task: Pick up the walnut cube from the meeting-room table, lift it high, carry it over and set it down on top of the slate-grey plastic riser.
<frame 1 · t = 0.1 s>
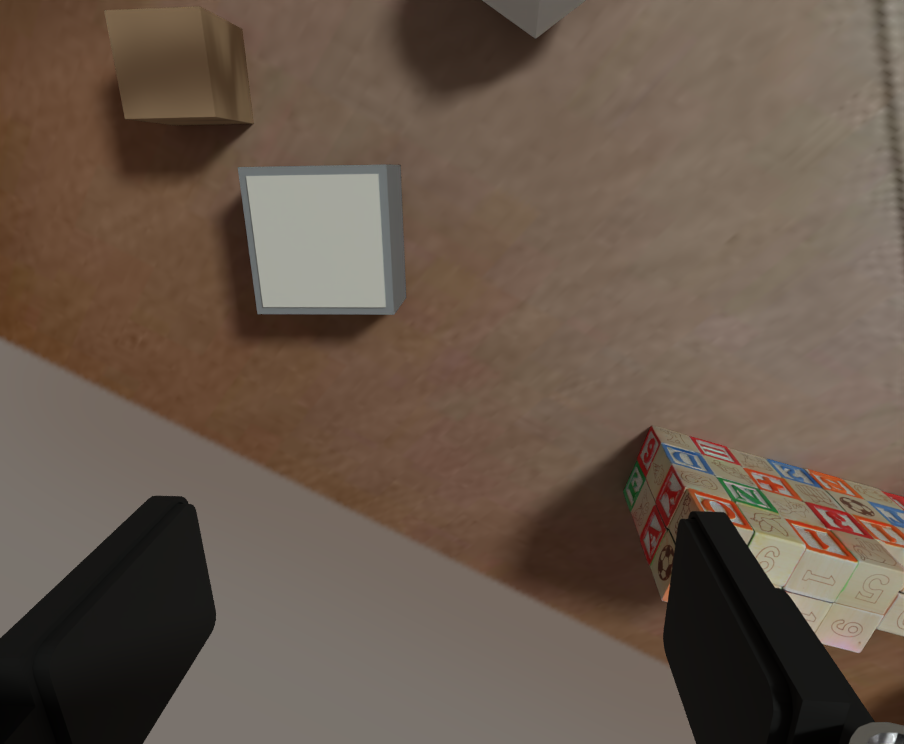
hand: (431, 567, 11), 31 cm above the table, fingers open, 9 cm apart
stack of blocks: (764, 493, 45), on the table
walnut cube: (207, 78, 37), on the table
riser: (339, 234, 40), on the table
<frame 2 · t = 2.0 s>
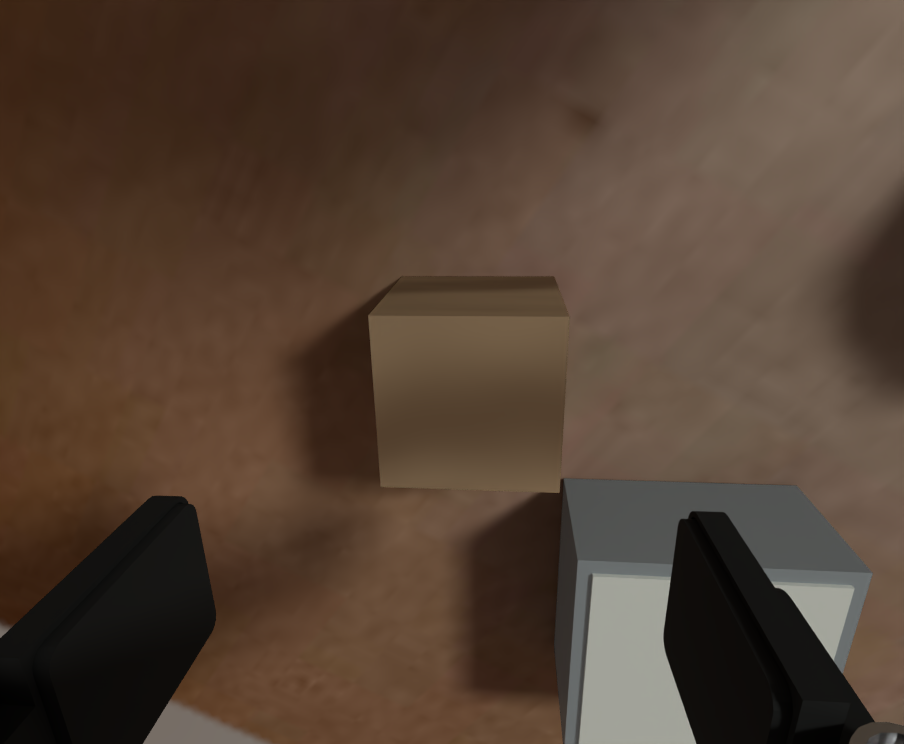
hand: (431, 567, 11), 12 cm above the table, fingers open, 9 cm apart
walnut cube: (477, 348, 22), on the table
riser: (665, 573, 24), on the table
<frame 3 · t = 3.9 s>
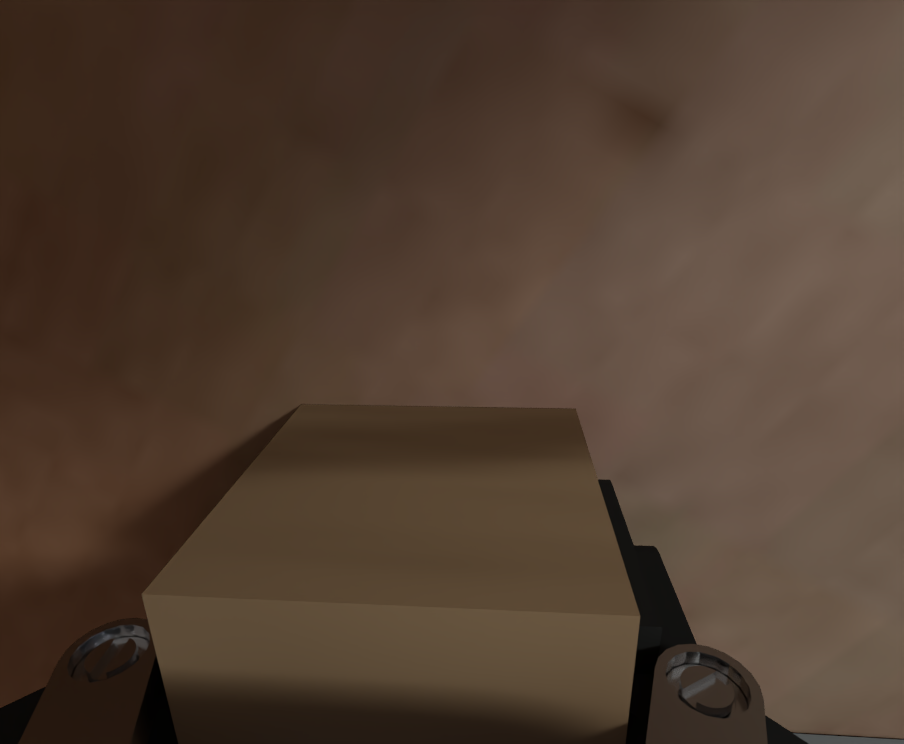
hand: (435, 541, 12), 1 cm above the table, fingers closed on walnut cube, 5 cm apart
walnut cube: (439, 524, 12), on the table, touching gripper
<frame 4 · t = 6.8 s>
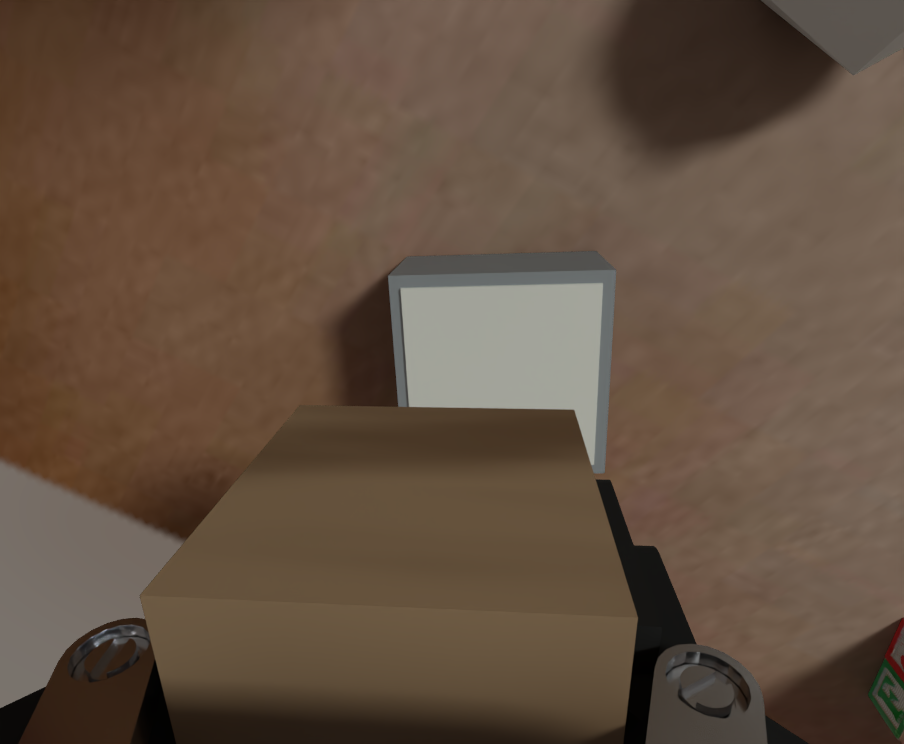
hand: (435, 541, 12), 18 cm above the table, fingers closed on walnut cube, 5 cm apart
walnut cube: (437, 524, 12), point 17 cm above the table, touching gripper
riser: (501, 343, 29), on the table
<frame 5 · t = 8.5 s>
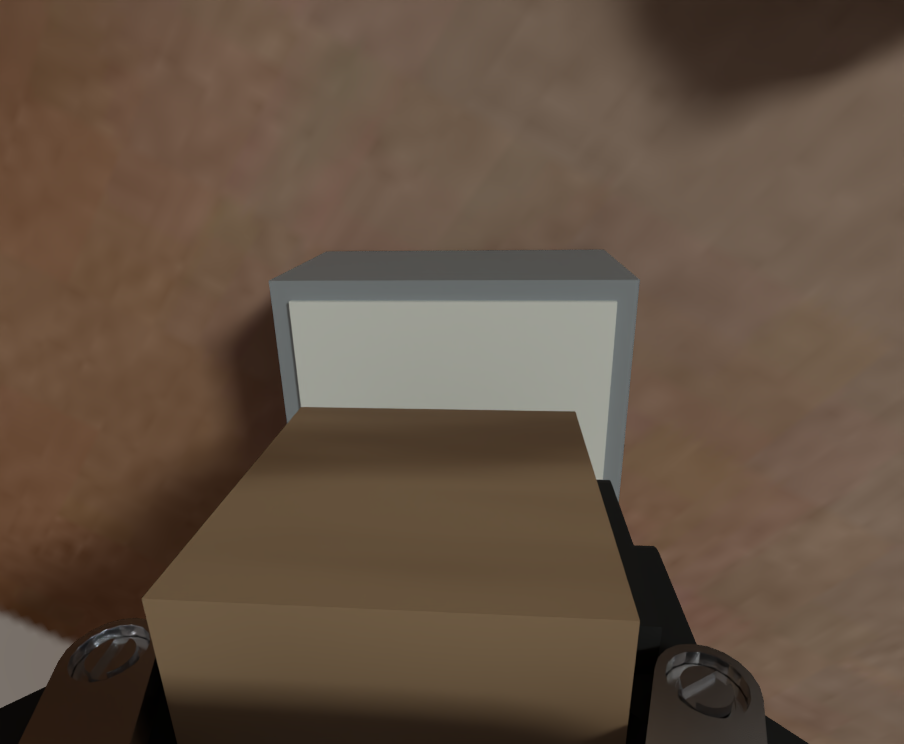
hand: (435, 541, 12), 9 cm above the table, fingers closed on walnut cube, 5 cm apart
walnut cube: (438, 526, 12), point 8 cm above the table, touching gripper
riser: (463, 380, 20), on the table
when the fingers open (7 cm above the table, at t = 9.8 s): walnut cube drops 1 cm, resting on riser.
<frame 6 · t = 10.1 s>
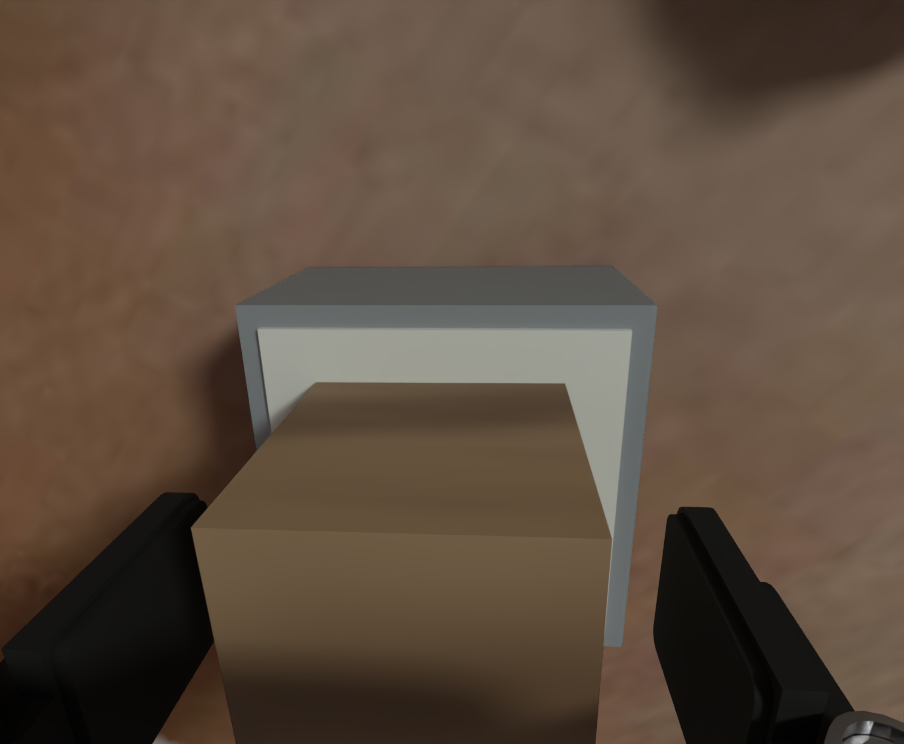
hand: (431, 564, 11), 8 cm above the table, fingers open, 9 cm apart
walnut cube: (442, 491, 13), point 5 cm above the table, touching riser
riser: (458, 407, 18), on the table
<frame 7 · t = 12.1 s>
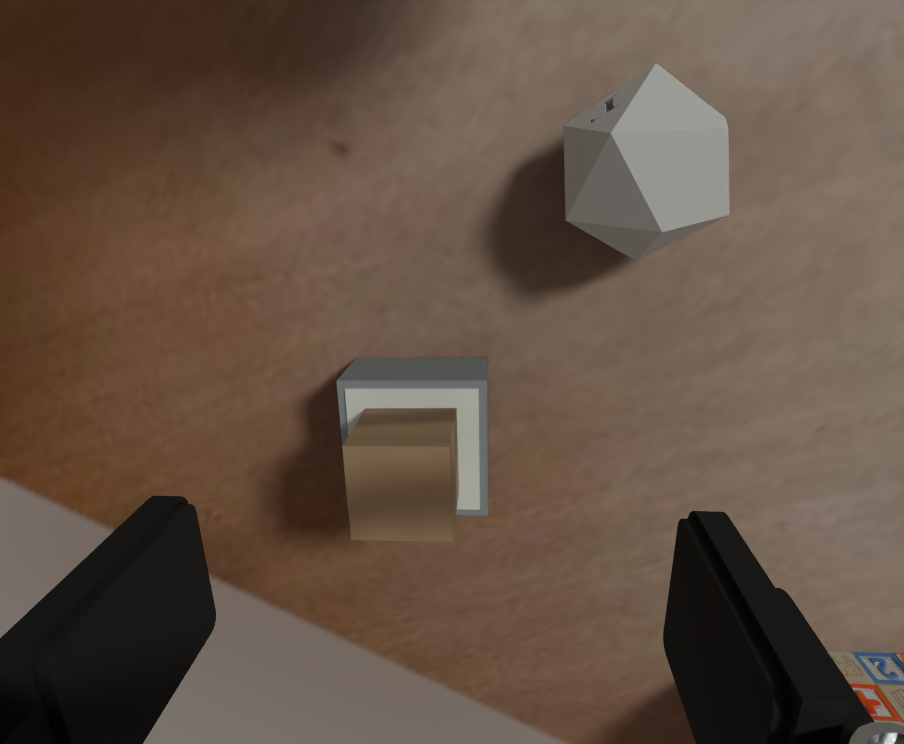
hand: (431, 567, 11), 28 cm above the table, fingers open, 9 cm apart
stack of blocks: (862, 680, 44), on the table
walnut cube: (413, 450, 35), point 5 cm above the table, touching riser
die: (627, 172, 35), on the table
riser: (423, 419, 40), on the table
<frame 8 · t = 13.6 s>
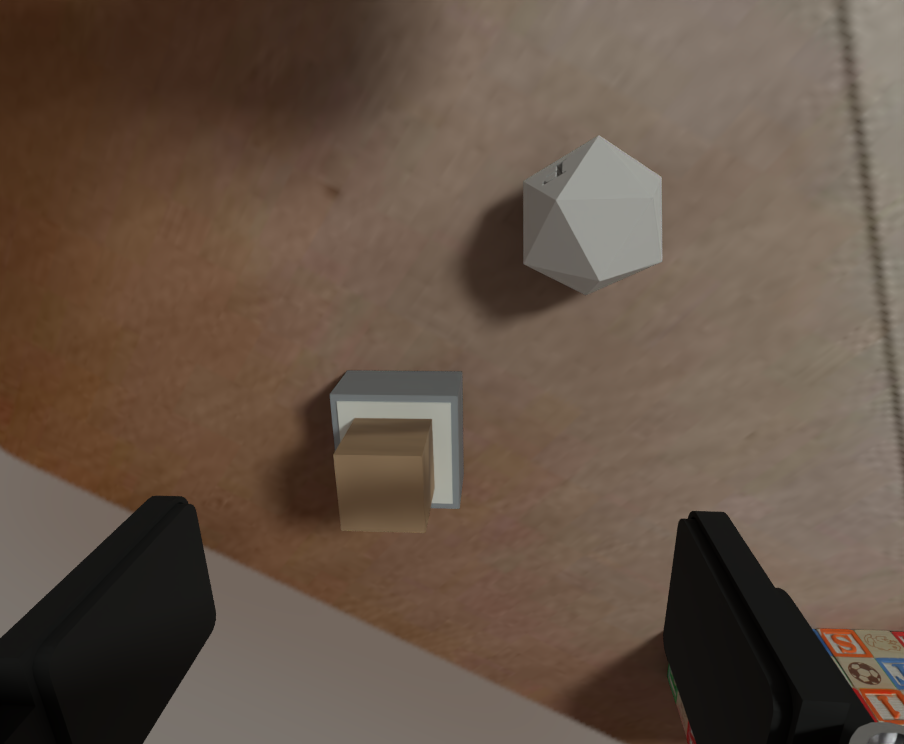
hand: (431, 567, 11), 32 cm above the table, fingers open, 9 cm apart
stack of blocks: (790, 652, 51), on the table
walnut cube: (395, 453, 41), point 5 cm above the table, touching riser
die: (582, 215, 40), on the table
riser: (407, 423, 46), on the table
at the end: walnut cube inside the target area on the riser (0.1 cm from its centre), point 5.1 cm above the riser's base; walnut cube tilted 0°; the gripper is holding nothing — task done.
